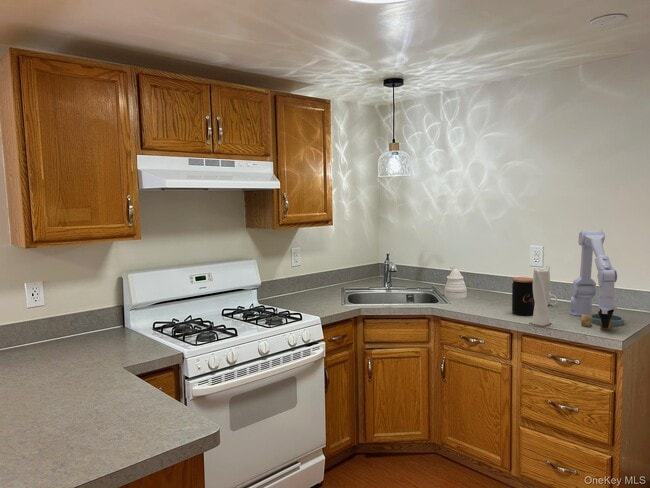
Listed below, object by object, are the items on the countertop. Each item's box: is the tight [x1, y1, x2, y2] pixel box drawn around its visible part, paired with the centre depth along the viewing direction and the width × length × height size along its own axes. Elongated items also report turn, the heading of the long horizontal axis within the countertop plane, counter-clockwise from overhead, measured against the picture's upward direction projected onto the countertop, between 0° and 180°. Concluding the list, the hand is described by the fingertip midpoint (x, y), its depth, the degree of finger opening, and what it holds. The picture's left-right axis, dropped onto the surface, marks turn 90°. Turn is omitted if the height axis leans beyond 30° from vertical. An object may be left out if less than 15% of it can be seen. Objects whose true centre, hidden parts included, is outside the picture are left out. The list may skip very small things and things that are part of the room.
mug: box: [547, 291, 558, 306], centre depth 272 cm, size 12×8×8 cm
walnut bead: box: [600, 319, 612, 332], centre depth 222 cm, size 4×4×5 cm
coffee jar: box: [511, 276, 535, 317], centre depth 254 cm, size 11×11×18 cm
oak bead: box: [580, 314, 592, 328], centre depth 229 cm, size 4×4×5 cm
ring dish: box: [591, 313, 625, 327], centre depth 234 cm, size 14×14×2 cm
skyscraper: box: [529, 265, 552, 328], centre depth 232 cm, size 8×8×28 cm
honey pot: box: [444, 265, 468, 299], centre depth 302 cm, size 13×13×18 cm
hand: (605, 326), depth 222 cm, fingers closed on walnut bead, 4 cm apart
